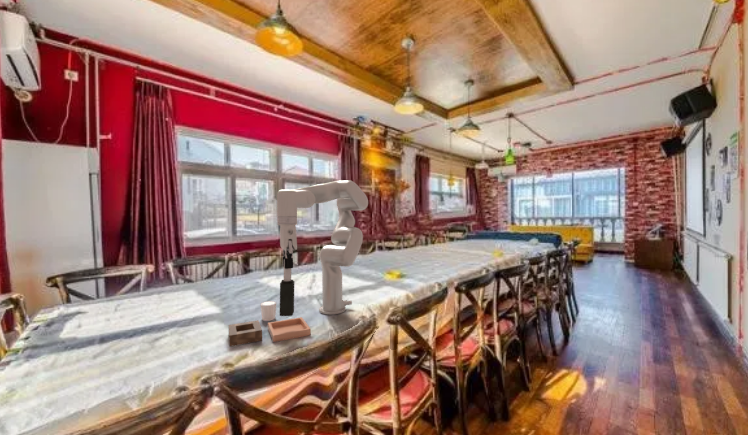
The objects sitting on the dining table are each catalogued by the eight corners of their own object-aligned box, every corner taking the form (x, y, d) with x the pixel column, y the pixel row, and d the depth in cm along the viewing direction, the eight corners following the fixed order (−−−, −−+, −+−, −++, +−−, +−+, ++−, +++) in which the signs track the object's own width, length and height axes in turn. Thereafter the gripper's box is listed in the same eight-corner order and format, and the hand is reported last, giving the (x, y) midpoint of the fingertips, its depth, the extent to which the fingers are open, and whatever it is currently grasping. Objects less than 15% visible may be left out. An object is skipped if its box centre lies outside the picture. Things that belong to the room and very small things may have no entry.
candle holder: (258, 329, 125) (258, 320, 125) (262, 340, 115) (262, 329, 115) (228, 335, 120) (228, 324, 120) (229, 346, 110) (229, 335, 110)
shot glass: (271, 321, 134) (271, 306, 133) (257, 320, 135) (257, 305, 135) (279, 316, 140) (279, 301, 140) (265, 315, 142) (265, 300, 141)
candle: (281, 311, 125) (282, 250, 124) (294, 311, 125) (295, 250, 125) (279, 316, 120) (279, 252, 119) (292, 316, 120) (293, 252, 119)
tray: (301, 322, 132) (301, 317, 132) (310, 335, 120) (310, 328, 120) (267, 328, 126) (267, 322, 126) (273, 342, 114) (273, 335, 114)
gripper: (301, 221, 116) (302, 270, 116) (292, 220, 130) (292, 263, 131) (281, 222, 112) (281, 272, 113) (274, 220, 127) (274, 264, 128)
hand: (287, 267), depth 122 cm, fingers closed on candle, 2 cm apart
